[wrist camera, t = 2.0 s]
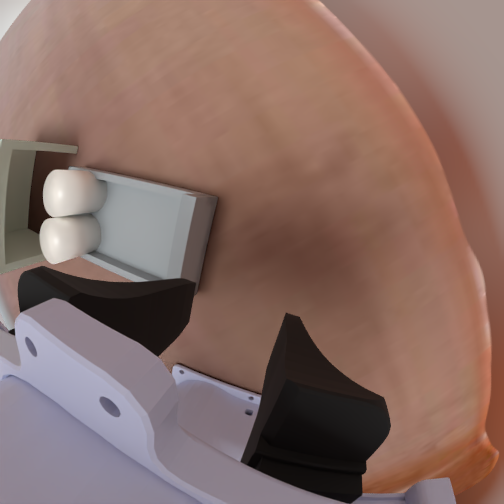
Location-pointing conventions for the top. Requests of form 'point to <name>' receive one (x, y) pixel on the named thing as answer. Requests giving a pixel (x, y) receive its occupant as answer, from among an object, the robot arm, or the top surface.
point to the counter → (19, 202)
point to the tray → (126, 224)
